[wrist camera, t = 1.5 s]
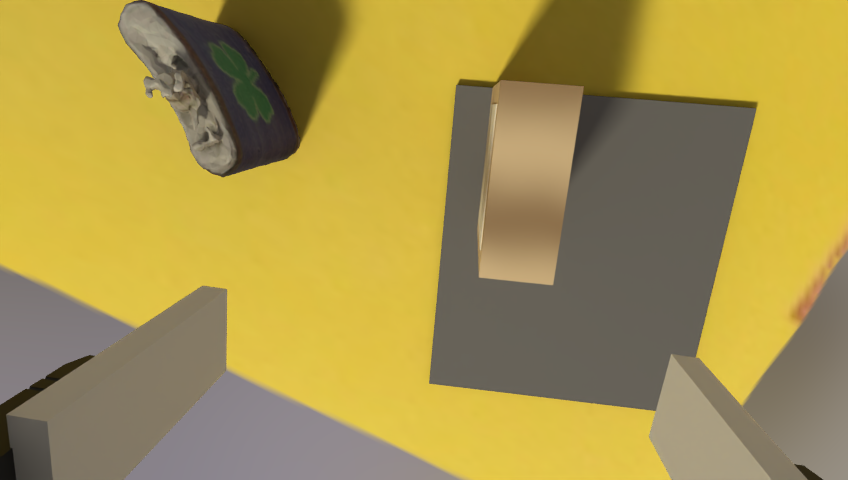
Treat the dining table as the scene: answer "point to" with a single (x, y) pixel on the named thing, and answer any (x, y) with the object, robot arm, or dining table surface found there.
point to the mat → (594, 255)
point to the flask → (212, 88)
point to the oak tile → (526, 179)
